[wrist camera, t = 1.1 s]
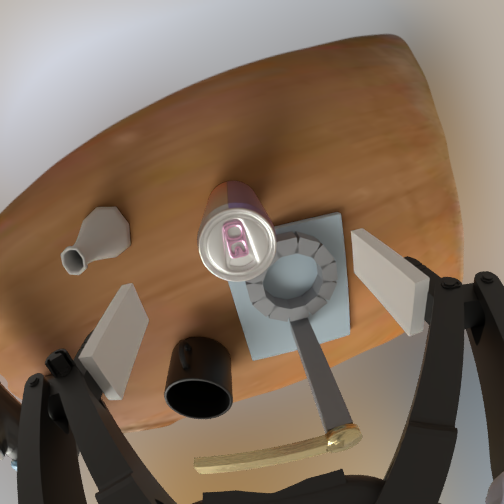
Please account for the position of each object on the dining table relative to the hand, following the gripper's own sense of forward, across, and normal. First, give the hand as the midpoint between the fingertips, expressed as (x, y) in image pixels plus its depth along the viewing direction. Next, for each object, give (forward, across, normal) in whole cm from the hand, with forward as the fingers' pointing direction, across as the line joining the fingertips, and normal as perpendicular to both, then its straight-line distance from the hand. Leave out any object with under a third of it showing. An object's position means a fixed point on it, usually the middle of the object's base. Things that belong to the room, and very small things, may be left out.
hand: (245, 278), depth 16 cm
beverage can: (+20, 0, 0) cm, 20 cm away
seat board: (+20, +5, -14) cm, 25 cm away
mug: (+20, -11, -21) cm, 31 cm away
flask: (+20, -17, +1) cm, 26 cm away
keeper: (-1, -1, -18) cm, 18 cm away
